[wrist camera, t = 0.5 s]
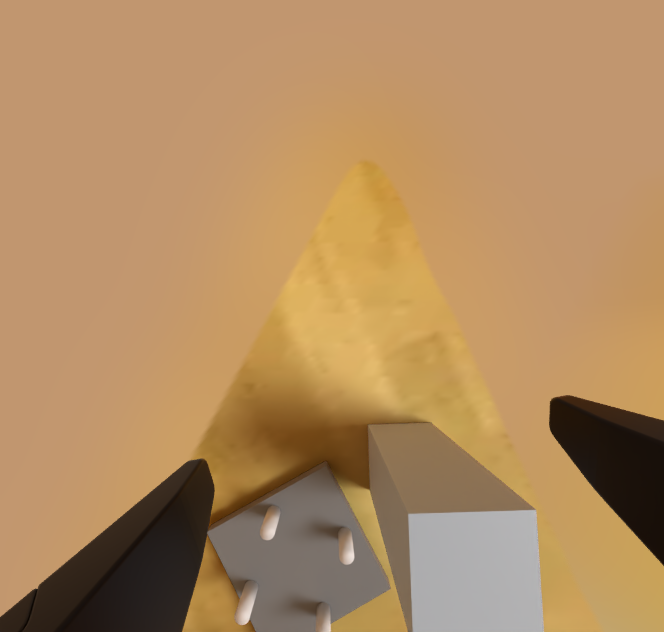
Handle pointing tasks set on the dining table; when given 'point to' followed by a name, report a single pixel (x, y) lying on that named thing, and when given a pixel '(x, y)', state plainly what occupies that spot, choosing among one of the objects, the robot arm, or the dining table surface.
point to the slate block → (453, 535)
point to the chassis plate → (298, 556)
